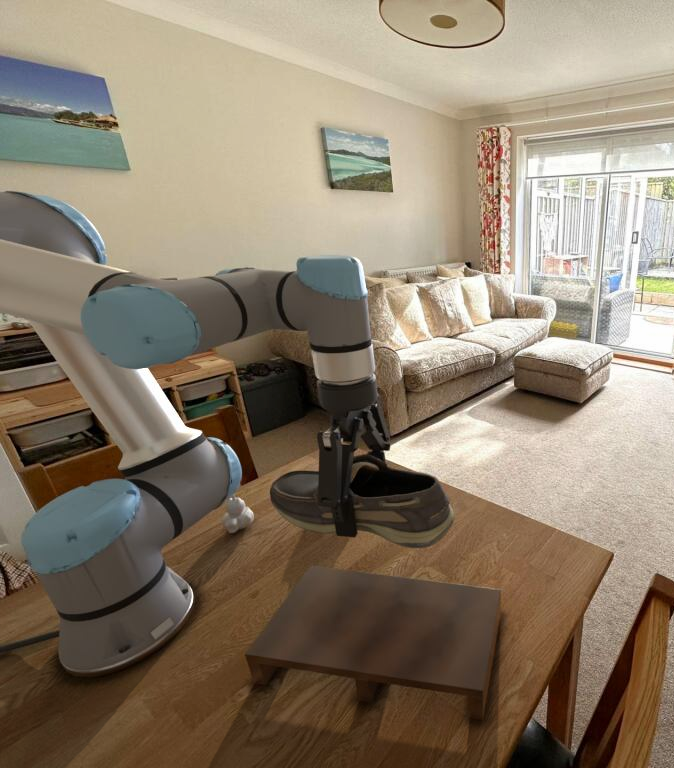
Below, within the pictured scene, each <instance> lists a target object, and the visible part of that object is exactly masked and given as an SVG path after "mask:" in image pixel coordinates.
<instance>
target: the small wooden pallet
mask: <svg viewBox="0 0 674 768" xmlns="http://www.w3.org/2000/svg"><path fill="white" fill-rule="evenodd" d="M501 601H502V589H501V588H500V589H499V588H491V587H483V586H476V585H468V584H460V583H453V582H445V581H437V580H429V579H420V578H413V577H406V576H405V577H404V576H397V575H389V574H380V573H372V572H366V571H358V570H357V571H356V570H349V569H342V568H333V567H327V566H326V567H325V566H317V565H310V566H309V567H308V569H307V570H306V571H305V573H304V574H303V576H302V577H301V578H300V579H299V581H298V582H297V584H296V585H295V586H294V587H293V589H292V590H291V592H290V593H289V594H288V595H287V597H286V598H285V600H283V602H282V603H281V604H280V606H279V608H277V611H276V612H275V613H274V614H273V615H272V617H271V618H270V620H269V621H268V622H267V623H266V625H265V626H264V627H263V629H262V630H261V632H260V633H259V634H258V636H257V637H256V638H255V640H254V641H253V642H252V644H251V645H250V646H249V648H248V649H247V650H246V652H245V653H244V657H245V660H246V663H247V666H248V668H249V672H250V676H251V678H252V681H253V684H255V685H260V686H267V685H268V683H269V682H270V681H271V679H272V677H273V676H274V674H275V673H276V671H277V670H278V668H285V669H292V670H298V671H304V672H311V673H317V674H324V675H330V676H337V677H342V678H343V677H344V678H350V679H354V682H355V688H356V694H357V699H358V701H360V702H365V703H372V702H373V699H374V697H375V694H376V692H377V689H378V687H379V685H380V683H382V684H389V685H394V686H395V685H396V686H400V687H408V688H414V689H420V690H421V689H422V690H427V691H432V692H433V691H434V692H439V693H447V694H452V695H460V696H465V697H468V704H469V705H468V710H469V711H468V712H469V713H468V715H469V719H471V720H477V721H483V720H484V718H485V717H484V716H485V710H486V704H487V698H488V693H489V686H490V680H491V675H492V670H493V669H492V668H493V662H494V658H495V651H496V645H497V638H498V633H499V628H500V627H499V626H500V622H501V621H500V620H501V610H502V609H501V603H502V602H501Z"/></svg>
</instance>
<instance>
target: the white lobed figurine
mask: <svg viewBox="0 0 674 768" xmlns="http://www.w3.org/2000/svg"><path fill="white" fill-rule="evenodd" d="M225 510H226V513H225V514H224V515H223V516H222V518H221V524H222V526H223V527H224V528H226V529H227V531H228V533H229V534H234V533H236V532H237V531H238V530H243V529H245V528H247V527H249V526H251V524H252V523H253V521H254V519H255V514H254V512H253V511H252V510H251V508H250V507H248V506H246V503H245V501H244V500H243V499H241V498H240V497H236V495H235V493H234V494H233V495H232V496H231V497H229V498H228V499H227V501H226V504H225Z"/></svg>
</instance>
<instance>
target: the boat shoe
mask: <svg viewBox="0 0 674 768" xmlns="http://www.w3.org/2000/svg"><path fill="white" fill-rule="evenodd" d="M318 477H319V470H292V471H288V472H286V473H284V474H282V475H281V476H279V477H277V478H276V479H275V480H273V482H272V484H271V486H270V489H269V497H270V502H271V505H272V506H273V508H274V509H275V510H276V511H277V513H278V514H279V515H280V517H282V518H283V519H284V520H285V521H287V522H288V523H289V524H292V525H293V526H295V527H297V528H299V529H301V530H304V531H307V532H310V533H315V534H336V529H335V523H334V520H333V516H332V510H331V507H325V506H318ZM348 496H352V501H353V507H354V514H355V521H356V527H357V531H361V532H367V533H370V534H373V535H377V536H378V537H381V538H383V539H384V540H387V541H388V542H391V543H393V544H395V545H397V546H400V547H404V548H409V549H424V548H426V549H427V548H429V547H431V546H435V545H436V544H437V543H438V542H440V541H441V540H442V539H443V538H444V537H445V536H446V535H447V534H448V533H449V531H450V530H451V528H452V527H453V525H454V523H455V518H456V517H455V513H454V510H453V508H452V506H451V505H450V502H451V499H450V496H449V494H448V493H446V492H445V489H444V488H443V486H442V483H441V482H440V480H439V479H438V477H436V476H434V475H432V474H430V473H427V472H422V471H414V470H413V471H410V470H405V469H398V468H394V467H391V466H388V464H387V463H385V462H383V461H381V460H380V459H378V458H376V457H374V456H371V455H368V454H367V453H363V454H357V455H354V457H353V464H352V471H351V478H350V485H349V492H348Z"/></svg>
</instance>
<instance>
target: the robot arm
mask: <svg viewBox="0 0 674 768" xmlns="http://www.w3.org/2000/svg"><path fill="white" fill-rule="evenodd" d="M105 250H106V245H105V242H104V241H103V238H102V236H101V235H100V233H99V232H98V230H97V228H96V227H95V226H94V224H93V223H92V222H91V221H90V220H89V219H88V218H87V217H86V216H85V215H84V214H83V213H82V212H80V211H79V210H78V209H76V208H75V207H73V206H72V205H70V204H69V203H67V202H65V201H61V200H59V199H58V198H55V197H52V196H48V195H44V194H43V195H42V194H33V193H27V192H24V191H17V190H5V191H0V313H1V314H5V315H8V316H12V317H15V318H18V319H19V318H20V319H24V320H27V322H28V323H29V325H30V326H31V327H32V328H33V330H34V331H35V333H36V334H37V336H38V337H39V339H40V340H41V341H42V343H43V344H44V345H45V347H46V348H47V350H48V351H49V352H50V354H51V355H52V356H53V358H54V359H55V361H56V362H57V363H58V365H59V366H60V368H61V369H62V371H63V372H64V373H65V374H66V376H67V378H68V379H69V380H70V381H71V382H70V383H72V384H73V386H74V387H75V389H76V390H77V391H78V393H79V394H80V395H81V397H82V398H83V400H84V401H85V402H86V404H87V406H88V407H89V408H90V410H91V411H92V413H93V414H94V415H95V416H96V418H97V419H98V421H99V422H100V423H101V425H102V427H103V428H104V429H105V431H106V432H107V433H108V435H109V436H110V438H111V439H112V440H113V442H114V443H115V444H116V446H117V447H118V449H119V450H120V452H121V453H122V457H121V459H120V462H119V464H118V466H117V469H118V471H119V472H120V474H121V475H122V477H123V478H108V479H107V478H106V479H101V480H96V481H93V482H92V483H90V484H89V485H86V486H84V485H81V486H77V487H75V488H73V489H71V490H69V491H67V492H65V493H63V494H61V495H59V496H57V497H56V498H53V500H51V501H50V502H48V503H47V504H45V505H44V506H42V507H40V509H38V511H36V512H35V513H34V514H33V515H32V516H31V518H29V520H28V521H27V522H26V524H25V526H24V530H23V531H22V533H21V535H20V536H21V538H20V540H21V545H22V548H23V551H24V553H25V555H26V556H25V557H26V563H27V565H28V567H29V568H30V569H31V570H32V571H33V573H35V575H36V577H37V578H38V580H39V582H40V584H41V585H42V587H43V589H44V591H45V592H46V594H47V596H48V598H49V599H50V601H51V603H52V605H53V607H54V609H55V610H56V613H57V614H58V616H59V619H60V620H59V629H57V630H53V631H49V632H46V633H42V634H37V635H35V636H32V637H28V638H25V639H20V640H17V641H13V642H10V643H6V644H2V645H0V654H2V653H5V652H9V651H12V650H17V649H20V648H21V649H22V648H25V647H28V646H31V645H34V644H38V643H41V642H45V641H49V640H52V639H56V638H58V646H57V653H58V658H59V662H60V663H61V665H62V667H63V668H64V670H65V671H66V672H67V673H68V674H69V675H71V676H73V677H78V678H95V677H96V678H97V677H102V676H105V675H110V674H113V673H116V672H118V671H121V670H124V669H127V668H128V667H132V666H133V665H135V664H137V663H139V662H141V661H142V660H144V659H146V658H148V657H150V656H151V655H152V654H154V653H155V652H157V651H158V650H159V649H161V648H163V647H164V646H165V645H166V644H167V643H168V642H170V641H171V640H172V639H173V638H174V637H175V636H177V634H178V633H179V632H180V631H181V630H182V629H183V628H184V626H185V625H186V624H187V623H188V621H189V620H190V618H191V616H192V614H193V612H194V609H195V604H196V598H195V595H194V592H193V589H192V588H191V585H190V584H189V583H188V582H187V581H186V580H185V579H184V578H182V577H181V576H180V575H179V574H177V573H176V572H175V571H174V570H172V568H170V567H168V565H167V564H166V562H165V559H164V556H163V553H162V549H163V548H164V547H166V546H167V545H168V544H170V543H171V542H172V541H174V540H175V539H176V538H178V537H180V536H181V535H182V534H184V532H186V531H187V530H189V529H190V528H192V526H195V525H196V524H197V523H198V522H199V521H201V520H202V519H204V518H205V517H206V516H207V515H209V514H210V513H211V512H213V511H215V510H217V509H219V508H220V507H221V506H223V504H224V503H225V502H227V501H228V499H229V498H231V497H232V496H233V494H234V495H235V493H236V492H237V491H238V489H239V487H240V483H241V482H242V478H243V477H242V475H243V471H242V465H241V462H240V459H239V457H238V455H237V453H236V452H235V451H234V449H233V448H232V447H231V446H230V445H229V444H224V441H223V440H221V439H219V438H216V437H210V436H209V437H206V436H205V434H204V433H203V431H202V430H200V429H197V428H192V427H188V426H186V425H185V423H184V422H183V420H182V418H181V417H180V416H179V413H178V412H177V411H176V409H175V408H174V406H173V405H172V403H171V402H170V400H169V399H168V397H167V395H166V394H165V392H164V391H163V389H162V388H161V386H160V385H159V383H158V382H157V379H156V378H155V377H154V375H153V374H152V373H151V371H150V369H149V368H152V367H157V366H160V365H169V364H174V363H177V362H180V361H182V360H185V359H186V358H188V357H192V356H194V355H197V354H201V353H203V352H206V351H209V350H211V349H216V348H217V347H221V346H224V345H227V344H230V343H234V342H236V341H239V340H243V339H246V338H249V337H252V336H255V335H259V334H261V333H266V332H268V331H273V330H281V331H296V332H307V338H308V343H309V347H310V350H311V352H310V354H311V357H312V363H313V369H314V375H315V377H316V378H317V381H316V390H317V396H318V402H319V405H320V407H321V408H322V409H324V410H326V411H327V412H328V413H329V414H330V422H329V428H328V429H327V430H319V431H318V432H317V434H316V440H317V445H318V450H319V451H318V471H319V477H318V506H325V507H331V510H332V516H333V520H334V523H335V529H336V533H335V534H336V537H343V538H345V537H346V538H354V539H355V538H357V535H358V530H357V527H356V521H355V514H354V507H353V501H352V496H348V492H349V485H350V478H351V471H352V464H353V457H354V456H355V452H356V451H358V449H359V446H360V440H362V441H363V442H364V444H365V445H366V447H367V448H368V451H367V452H366V454H368V455H371V456H374V457H376V458H378V459H380V460H381V461H383V462H385V463H386V462H387V461H386V454H385V453H386V452H390V450H391V443H388V442H390V440H391V436H390V432H389V429H388V425H387V422H386V419H385V416H384V412H383V410H382V406H381V398H380V397H381V396H380V393H378V384H377V383H378V382H377V375H376V374H375V372H376V361H375V354H374V346H373V342H372V335H371V324H370V314H369V303H368V296H369V292H368V289H367V286H366V279H365V278H366V277H365V273H364V267H363V264H362V262H361V261H360V260H359V259H358V258H357V257H355V256H351V255H343V254H314V255H313V254H311V255H303V256H300V257H299V258H297V260H296V264H295V265H296V270H292V271H290V270H278V269H277V270H276V269H261V268H255V267H247V266H245V267H238V268H237V267H236V268H225V269H222V270H219V271H218V272H216V273H215V274H214V275H207V276H206V275H205V276H198V277H189V278H182V279H172V280H171V279H162V278H158V277H152V276H150V275H144V274H140V273H136V272H133V271H129V270H126V269H121V268H117V267H114V266H110V265H106V264H107V260H108V255H107V254H106V253H105V252H104V251H105ZM343 442H345V443H346V444H344V443H343ZM347 443H350V444H347ZM386 464H387V463H386Z"/></svg>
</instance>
